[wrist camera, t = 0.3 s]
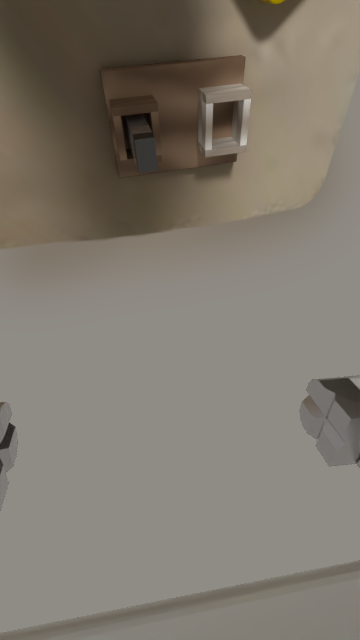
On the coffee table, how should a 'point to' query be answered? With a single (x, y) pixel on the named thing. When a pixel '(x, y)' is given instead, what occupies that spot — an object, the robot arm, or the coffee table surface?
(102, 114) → the coffee table surface
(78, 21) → the coffee table surface
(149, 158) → the brushed metal bar
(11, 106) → the coffee table surface
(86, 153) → the coffee table surface
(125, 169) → the caddy
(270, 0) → the element tile
